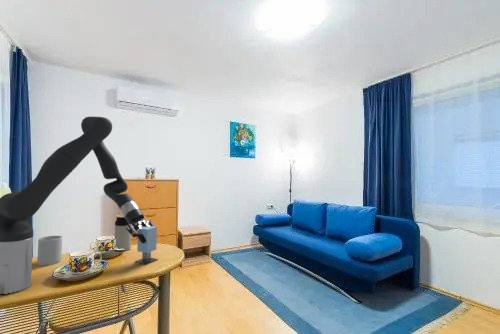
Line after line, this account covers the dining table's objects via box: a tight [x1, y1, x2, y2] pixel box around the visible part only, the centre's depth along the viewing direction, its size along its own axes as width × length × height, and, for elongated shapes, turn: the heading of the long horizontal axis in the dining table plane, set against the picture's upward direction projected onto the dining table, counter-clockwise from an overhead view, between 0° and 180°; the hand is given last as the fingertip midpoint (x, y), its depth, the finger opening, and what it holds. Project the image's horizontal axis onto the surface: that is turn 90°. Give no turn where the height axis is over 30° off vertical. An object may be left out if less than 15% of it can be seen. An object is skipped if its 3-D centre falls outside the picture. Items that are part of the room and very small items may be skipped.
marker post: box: [134, 251, 159, 266], centre depth 116 cm, size 7×7×7 cm
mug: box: [36, 235, 63, 267], centre depth 113 cm, size 12×8×11 cm
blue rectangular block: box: [136, 226, 158, 253], centre depth 116 cm, size 6×6×11 cm
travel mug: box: [114, 213, 132, 251], centre depth 133 cm, size 8×8×18 cm
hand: (150, 240), depth 115 cm, fingers closed on blue rectangular block, 5 cm apart
